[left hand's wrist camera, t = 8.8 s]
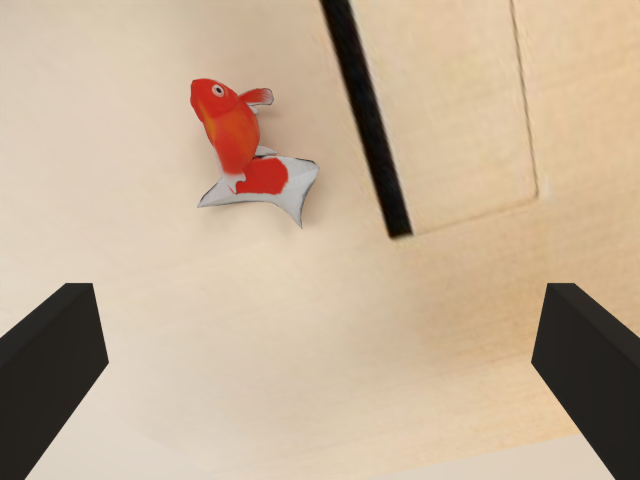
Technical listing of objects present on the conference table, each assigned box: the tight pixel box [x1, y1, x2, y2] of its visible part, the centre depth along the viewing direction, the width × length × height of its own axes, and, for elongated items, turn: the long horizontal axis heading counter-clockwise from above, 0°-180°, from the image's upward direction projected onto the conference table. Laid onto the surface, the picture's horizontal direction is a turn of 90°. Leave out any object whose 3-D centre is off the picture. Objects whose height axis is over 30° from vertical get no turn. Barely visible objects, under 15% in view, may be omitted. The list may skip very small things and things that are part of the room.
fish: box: [190, 78, 319, 228], centre depth 39 cm, size 11×16×10 cm
